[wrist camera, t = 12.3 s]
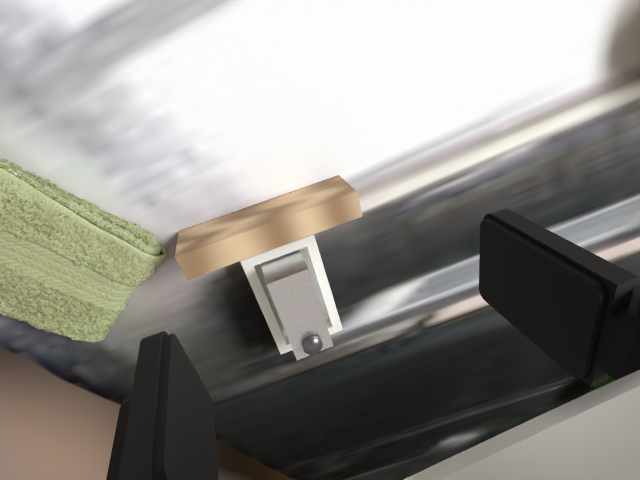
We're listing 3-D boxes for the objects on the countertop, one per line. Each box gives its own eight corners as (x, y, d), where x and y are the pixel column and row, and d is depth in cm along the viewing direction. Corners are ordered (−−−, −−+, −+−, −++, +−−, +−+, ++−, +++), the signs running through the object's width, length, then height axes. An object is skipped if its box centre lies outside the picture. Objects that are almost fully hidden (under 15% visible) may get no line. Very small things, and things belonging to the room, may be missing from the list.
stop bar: (296, 244, 38) (310, 272, 33) (320, 316, 43) (335, 349, 38) (259, 258, 38) (267, 288, 33) (287, 329, 43) (298, 364, 38)
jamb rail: (189, 252, 36) (187, 280, 31) (178, 231, 34) (174, 257, 30) (344, 197, 38) (362, 216, 33) (339, 175, 36) (357, 192, 32)
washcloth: (-48, 117, 27) (-77, 125, 24) (175, 240, 35) (172, 256, 33) (-125, 252, 29) (-159, 273, 26) (101, 337, 38) (93, 360, 35)
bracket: (278, 343, 44) (280, 354, 42) (238, 252, 37) (240, 261, 36) (337, 320, 44) (342, 329, 43) (309, 226, 38) (313, 234, 36)
